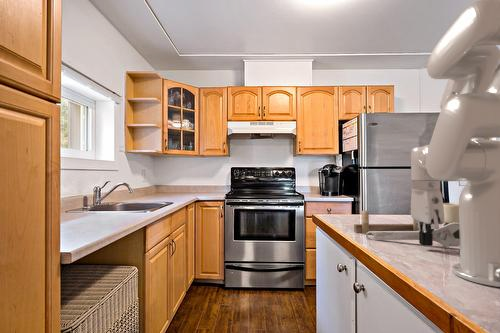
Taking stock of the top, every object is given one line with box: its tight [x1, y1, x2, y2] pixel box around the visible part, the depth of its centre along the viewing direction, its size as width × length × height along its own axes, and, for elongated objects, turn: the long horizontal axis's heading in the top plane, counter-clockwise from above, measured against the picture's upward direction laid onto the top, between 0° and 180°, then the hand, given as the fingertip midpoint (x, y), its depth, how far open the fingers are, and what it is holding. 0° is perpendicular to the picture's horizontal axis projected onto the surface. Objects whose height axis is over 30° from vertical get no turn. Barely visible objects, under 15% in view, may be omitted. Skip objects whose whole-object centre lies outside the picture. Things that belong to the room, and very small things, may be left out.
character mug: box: [443, 202, 460, 239], centre depth 95 cm, size 11×7×13 cm, turn 55°
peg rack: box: [353, 210, 419, 236], centre depth 109 cm, size 5×26×9 cm, turn 89°
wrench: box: [365, 223, 460, 249], centre depth 92 cm, size 8×2×30 cm
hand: (425, 244), depth 85 cm, fingers closed
